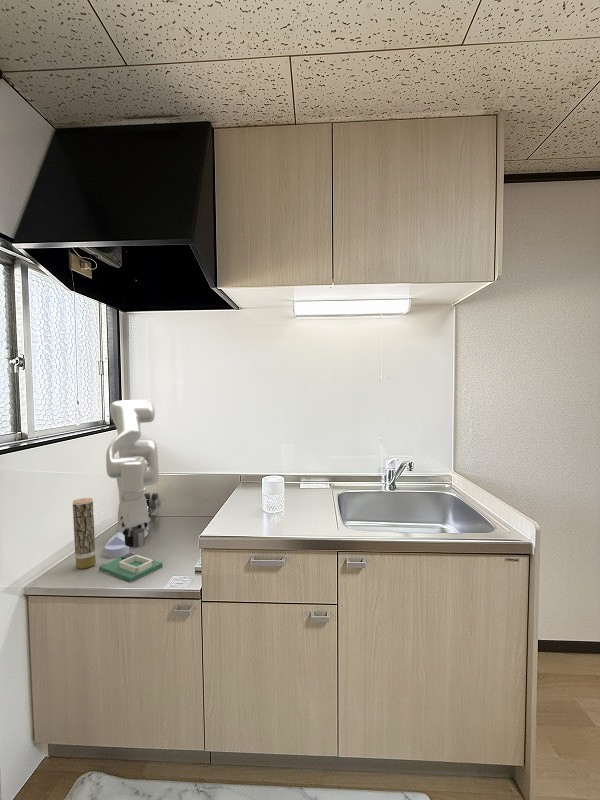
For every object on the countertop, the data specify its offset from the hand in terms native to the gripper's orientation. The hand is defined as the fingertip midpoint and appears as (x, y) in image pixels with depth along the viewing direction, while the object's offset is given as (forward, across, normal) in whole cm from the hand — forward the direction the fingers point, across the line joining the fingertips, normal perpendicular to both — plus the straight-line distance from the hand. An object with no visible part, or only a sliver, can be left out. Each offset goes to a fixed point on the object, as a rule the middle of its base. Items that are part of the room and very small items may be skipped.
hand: (135, 543), depth 166 cm
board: (+10, 0, -3) cm, 11 cm away
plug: (0, 0, 0) cm, 0 cm away
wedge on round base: (+10, -8, -21) cm, 25 cm away
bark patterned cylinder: (+10, +7, -20) cm, 24 cm away
